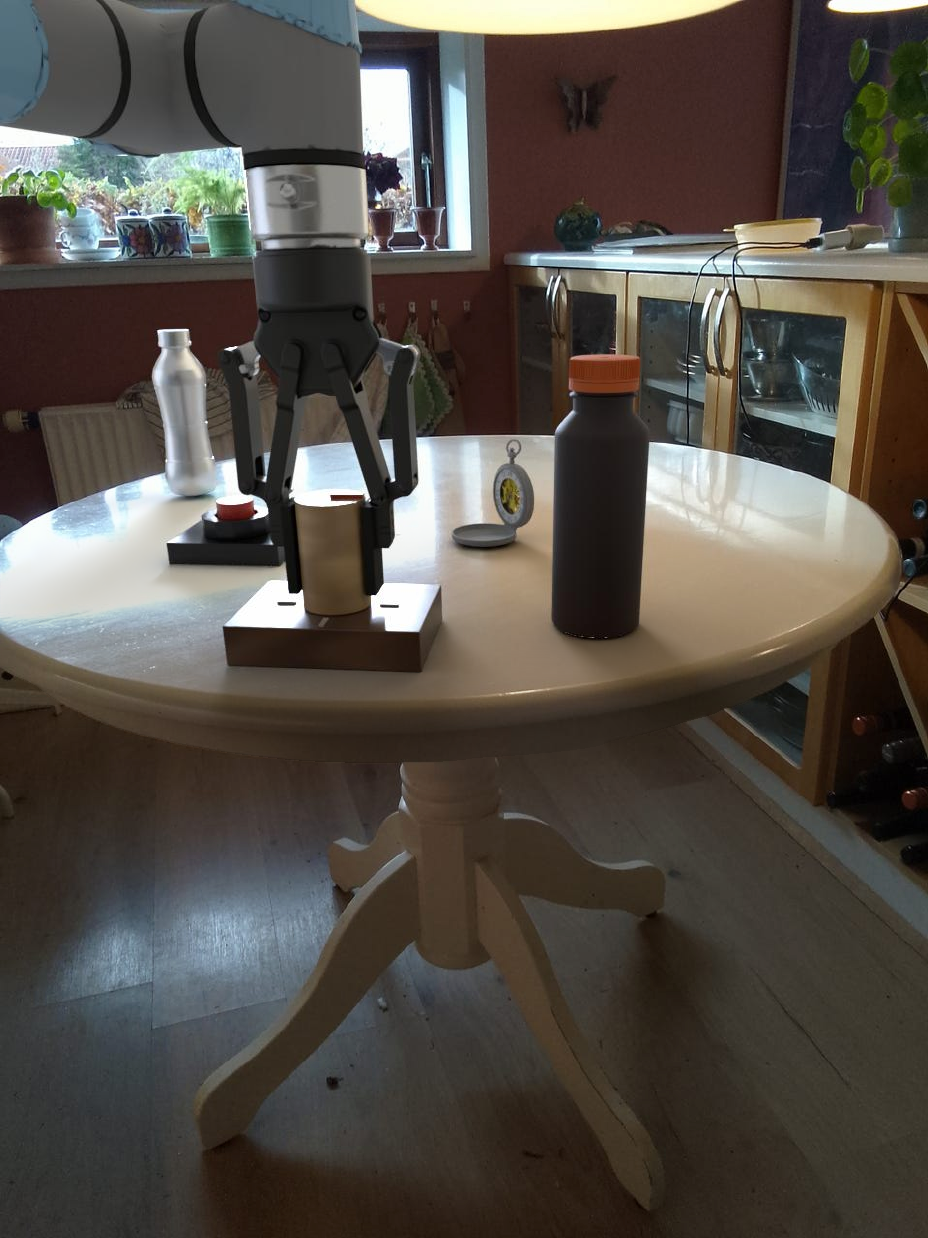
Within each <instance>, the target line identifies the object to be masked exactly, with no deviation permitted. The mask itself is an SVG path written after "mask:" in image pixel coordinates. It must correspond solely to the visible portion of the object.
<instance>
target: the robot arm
mask: <svg viewBox="0 0 928 1238" xmlns="http://www.w3.org/2000/svg"><path fill="white" fill-rule="evenodd" d="M224 1H225V3H222V4H216V5H213V6H210V7H209V6H208V7H204V8H202V9H195V10H186V11H179V12H178V11H177V12H168V13H165V12H164V13H162V12H161V13H160V12H159V13H158V12H151V11H148V10H145V9H142V8H140V7H137V6H134V5H132V4H129V3H126V2H123V1H120V0H0V127H5V128H12V129H18V130H24V131H32V132H37V133H46V134H51V135H59V136H64V137H71V138H72V137H73V138H77V139H79V140H85V141H86V140H87V142H89V143H90V144H91V145H92V147H94V148H95V149H96V150H97V151H99V152H101V153H104V154H105V155H109V156H115V157H125V156H127V157H143V158H145V159H154V158H159V157H161V155H167V154H176V153H186V152H196V151H207V150H216V149H225V148H232V149H237V148H238V149H239V148H241V149H240V150H241V156H242V161H243V170H244V171H243V175H244V184H245V194H246V202H247V203H246V204H247V213H248V224H249V233H250V237H251V238H252V239H253V241H255V242H260V245H261V250H256V251H255V252H254V256H252V258H251V259H252V268H253V279H254V280H253V281H254V289H255V297H256V299H255V300H256V301H255V302H256V308H257V314H258V323H257V326H256V330H255V332H254V335H253V340H251V341H249V342H247V343H243V344H241V345H238V346H233V347H228V348H224V349H221V350H219V351H218V353H217V355H216V359H217V363H218V365H219V368H220V370H221V372H222V375H223V377H224V380H225V381H226V384H227V386H228V394H229V395H228V396H229V407H230V417H231V426H232V427H231V428H232V436H233V449H234V458H235V468H236V479H237V488H238V491H239V492H240V493H241V494H242V495H243V496H254V497H257V498H259V499H261V500H262V501H263V502H264V503H265V505H266V508H268V518H269V526H270V527H269V528H270V538H271V541H272V543H273V545H274V546H277V547H284V553H285V562H284V563H285V572H286V573H285V575H286V581H287V584H288V594H299V593H300V592H301V591H302V581H301V570H300V559H299V548H298V537H297V525H296V514H295V503H294V499H295V498H296V497H297V496H290V495H291V493H293V492H294V490H295V489H294V487H292V485H293V480H294V473H295V467H296V462H297V455H298V449H299V444H300V437H301V433H302V425H303V419H304V414H305V408H306V405H307V404H308V399H309V396H312V395H315V394H316V395H317V394H321V395H325V396H328V397H335V399H336V403H337V406H338V408H339V410H340V411H341V413H342V414H343V418H344V421H345V424H346V427H347V430H348V434H349V437H350V439H351V443H352V445H353V449H354V451H355V456H356V458H357V461H358V465H359V468H360V471H361V474H362V478H363V481H364V483H365V487H366V489H367V493H368V499H367V500H366V502H365V503H364V504H363V505H362V506H361V507H360V511H361V527H362V543H363V559H364V574H365V590H366V596H376V595H377V594H378V592H379V591H380V589H381V588H382V586H383V584H384V583H385V580H384V579H385V577H384V576H385V575H384V560H383V558H384V557H383V549H390V548H391V546H392V544H393V543H394V540H395V538H396V529H395V511H394V510H395V506H394V505H395V504H394V503H395V500H398V499H401V498H406V497H409V496H411V494H412V493H413V492H414V491H415V489H416V488H417V487H418V486H419V465H418V463H419V462H418V447H417V446H418V444H417V428H416V427H417V426H416V425H417V423H416V408H415V389H414V388H415V387H414V380H415V376H416V373H417V370H418V366H419V363H420V360H421V350H420V348H419V347H418V346H417V345H415V344H409V345H404V344H401V343H398V342H395V341H392V340H389V339H387V338H384V337H383V334H382V332H381V330H380V328H379V326H378V325H377V322H376V319H375V316H374V299H373V281H372V280H373V279H372V278H373V277H372V261H371V259H372V258H371V254H368V250H367V249H363V248H361V247H362V245H361V243H362V242H361V241H362V240H363V241H364V240H367V238H368V237H369V236H370V221H369V205H368V189H367V188H368V186H367V173H366V172H367V171H366V164H365V154H364V137H363V136H364V135H363V134H364V133H363V109H362V107H363V105H362V85H361V84H362V83H361V81H362V80H361V57H360V56H361V55H360V54H363V45H362V44H361V43H360V37H359V27H358V19H357V18H358V17H357V16H358V15H357V9H356V0H224ZM376 356H379V357H380V359H381V360H382V370H383V372H384V373H385V374H386V375H387V376H388V377H389V384H388V389H389V390H388V395H389V397H388V398H389V411H390V427H391V429H390V430H391V444H392V445H391V446H392V458H393V459H392V460H393V474H394V475H393V476H394V478H392V477H391V474H390V472H389V471H390V470H389V468H388V465H387V461H386V458H385V455H384V451H383V449H382V448H383V447H382V445H381V442H380V438H379V434H378V432H377V428H376V426H375V422H374V419H373V415H372V413H371V410H370V405H369V402H368V400H369V399H368V394H367V389H366V387H365V383H364V380H363V377H364V376H365V374H366V373H367V372H368V369H369V368H370V366H371V365H372V363H373V362H374V360H375V359H376ZM260 359H262V360H263V361H264V362H265V364H266V365H267V366H268V368H269V369H270V370H271V371H272V372H273V374H274V375H275V377H276V378H277V379H278V386H277V393H276V400H275V406H276V413H275V420H274V427H273V431H272V439H271V445H270V450H269V451H270V452H269V458H268V464H267V470H266V463H265V451H264V440H263V428H262V426H263V425H262V416H261V415H262V414H261V403H260V393H259V384H258V380H257V376H256V375H258V373H259V371H260Z"/></svg>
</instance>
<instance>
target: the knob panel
mask: <svg viewBox="0 0 928 1238" xmlns="http://www.w3.org/2000/svg"><path fill="white" fill-rule="evenodd" d="M371 597H372V602H371V604H370V606H368V607H367V608H365V609H363V610H361V611H358V612H355V613H350V614H344V615H320V614H315V613H311V612H309V611H307V610H306V609H305V608H304V603H303V592H302V591H301V592H300V593H299V594H288V584H287V580H268V581H267V582H266V583H264V585H263V586H262V587H261V588H260V589H259V590H258V591H257V592H256V593H255V594H254V595H253V596H252V597H251V598H250V599H248V601H247V602H246V603H245V604H243V606H241V608H239V610H237V612H235V613H234V615H233V616H231V618H229V619H228V620H227V621H226V622H225V624H223V625H222V633H223V642H224V649H225V655H226V656H225V658H226V665H227V666H241V667H244V666H245V667H270V668H272V667H273V668H297V669H298V668H299V669H300V668H301V669H326V670H327V669H328V670H355V671H356V670H357V671H381V672H382V671H384V672H386V671H387V672H408V673H409V672H414V673H421V672H422V670H423V668H424V665H425V663H426V660H427V658H428V656H429V653H430V651H431V649H432V646H433V643H434V641H435V638H436V636H437V633H438V631H439V628H440V626H441V623H442V621H443V600H442V599H443V597H442V584H431V583H427V584H425V583H388V582H387V583H386V582H384V584H383V586H382V588H381V589H380V591H379V592H378V594H377V595H376V596H371Z"/></svg>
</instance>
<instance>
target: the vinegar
mask: <svg viewBox="0 0 928 1238" xmlns="http://www.w3.org/2000/svg"><path fill="white" fill-rule="evenodd" d="M641 360H642V358H641V357H640V356H637V355H630V354H615V353H614V354H611V353H609V354H607V353H606V354H605V353H604V354H603V353H601V354H600V353H599V354H581V355H574V356H571V357H570V358H569V365H568V366H569V367H568V368H569V369H568V370H569V371H568V372H569V373H568V390H570V393H569V395H568V396H569V397H570V398H572V410H571V411H570V412H569V414H568V415H567V416H566V417H565V418H564V419H563V420H562V421H561V422H560V424H558V426H557V427H556V429H555V432H554V450H553V501H552V502H553V503H552V504H553V505H552V508H553V511H552V512H553V513H552V556H551V558H552V559H551V609H550V610H551V612H550V613H551V614H550V615H551V616H550V617H551V618H550V619H551V622H552V624H553V625H554V627H555V628H556V627H557V628H556V629H557V630H559V629H560V630H559V631H561V632H562V631H563V632H562V633H564V632H567V633H569V634H568V635H570V634H572V635H571V636H573V635H576V636H575V637H577V636H583V637H594V638H605V637H615V638H617V637H616V636H619V637H621V636H620V635H624V636H626V635H628V634H630V633H632V632H634V631H635V630H636V629H637V628H638V627H639V624H640V612H641V611H640V610H641V597H642V596H641V595H642V578H643V577H642V576H643V560H644V558H643V557H644V542H645V541H644V540H645V526H646V525H645V524H646V509H647V508H646V507H647V491H648V490H647V489H648V473H649V469H648V468H649V457H650V456H649V452H650V440H651V439H650V436H651V433H650V428H649V427H648V426H647V424H646V423H645V422H644V420H642V418H641V417H640V416H639V415H638V413H637V412H636V411H635V410H634V400H635V398H637V397H638V395H639V392H636V391H638V390H640V389H639V388H640V377H641ZM629 632H630V633H629ZM567 633H566V634H567ZM627 633H628V634H627ZM625 634H626V635H625ZM583 637H582V638H583ZM605 639H606V638H605Z"/></svg>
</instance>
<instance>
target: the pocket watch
mask: <svg viewBox="0 0 928 1238" xmlns="http://www.w3.org/2000/svg"><path fill="white" fill-rule="evenodd" d="M512 442H516V443H517V444H518V450H517V452H516V451H515V448H514V447H510V448H509V445H510V444H511V443H512ZM505 445H506V447H505V450H506V453H507V457H508V458H509V462H506V463H504V464H501V465H500V466H499V468H497V470H496V472H495V475H494V478H493V482H492V497H493V503H494V507H495V510H496V513H497V514H498V517H499V518H500V520H501V521H502V523H503V524H501V523H490V522H488V523H487V522H483V523H482V522H480V523H479V522H478V523H471V524H470V523H469V524H464V525H460V526H457V527H455V528H453V529H452V531H451V538H452V540H453V541H454V542H456V544H461V545H463V546H467V547H475V548H476V547H477V548H488V547H492V548H493V547H499V546H503V545H507V544H509V543H511V542H513V541H515V539H516V538H517V530H518V529H520V528H523V527H524V526H526V525H527V524H528V523H529V522H530V521H531V519H532V517H533V514H534V510H535V493H534V487H533V483H532V480H531V478H530V476H529V474H528V472H527V471H526V470H525V468H524V467H522V466H521V465H520V464H517V463H516V461H515V458H516V457H517V456H519V454H520V453H521V451H522V444H521V442H520V440H518V439H516V438H511V439H510V440H509V441H507V443H506V444H505Z"/></svg>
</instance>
